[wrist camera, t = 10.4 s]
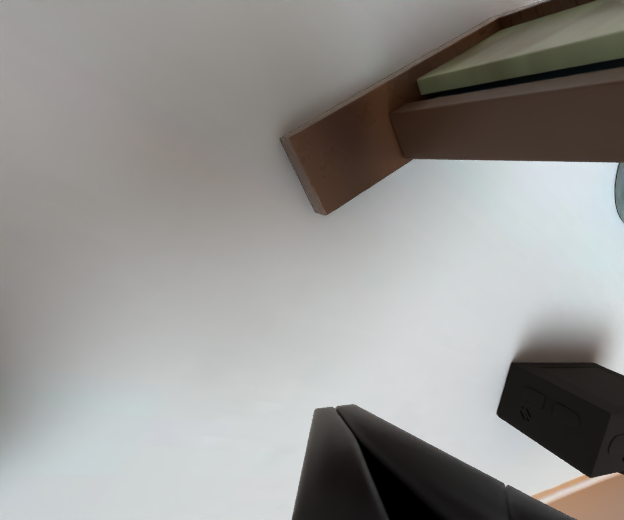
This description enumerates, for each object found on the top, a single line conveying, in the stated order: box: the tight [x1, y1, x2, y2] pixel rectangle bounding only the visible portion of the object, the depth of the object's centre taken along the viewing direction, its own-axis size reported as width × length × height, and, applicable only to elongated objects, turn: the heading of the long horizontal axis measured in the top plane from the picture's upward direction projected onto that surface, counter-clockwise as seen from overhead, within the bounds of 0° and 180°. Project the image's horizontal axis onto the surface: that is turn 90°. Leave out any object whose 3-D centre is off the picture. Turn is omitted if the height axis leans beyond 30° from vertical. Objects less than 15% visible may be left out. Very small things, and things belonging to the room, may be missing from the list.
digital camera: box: [498, 363, 624, 478], centre depth 30 cm, size 10×5×7 cm, turn 77°
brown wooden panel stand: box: [280, 0, 624, 216], centre depth 16 cm, size 14×4×13 cm, turn 117°
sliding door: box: [389, 58, 624, 163], centre depth 17 cm, size 6×2×11 cm, turn 117°
